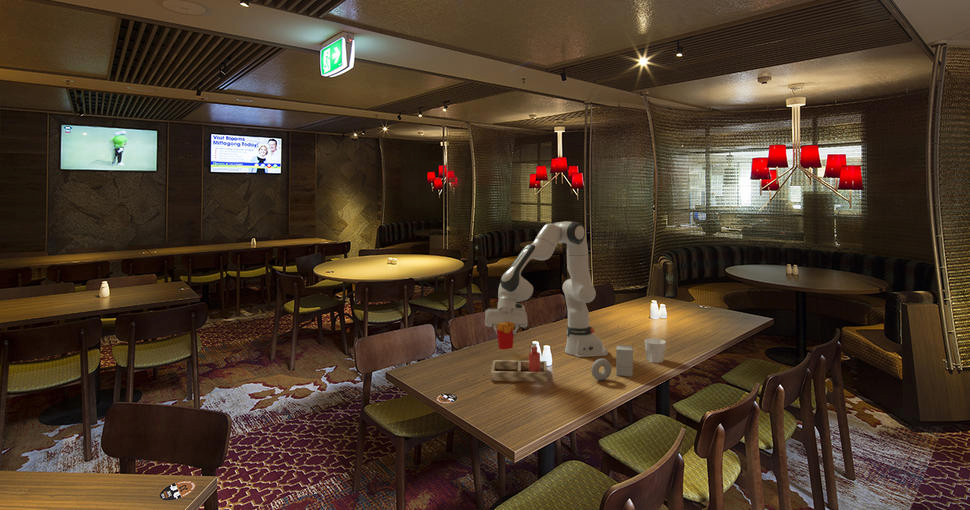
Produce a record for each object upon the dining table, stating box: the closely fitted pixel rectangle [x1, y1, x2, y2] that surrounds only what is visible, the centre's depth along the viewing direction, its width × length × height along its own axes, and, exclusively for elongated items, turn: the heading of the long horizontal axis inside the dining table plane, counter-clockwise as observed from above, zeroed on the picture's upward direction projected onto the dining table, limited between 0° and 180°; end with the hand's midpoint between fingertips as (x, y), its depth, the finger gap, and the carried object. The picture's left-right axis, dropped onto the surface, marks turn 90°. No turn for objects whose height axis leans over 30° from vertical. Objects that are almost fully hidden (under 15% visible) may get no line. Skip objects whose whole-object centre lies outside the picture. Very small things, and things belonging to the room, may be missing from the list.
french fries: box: [496, 322, 515, 350], centre depth 220 cm, size 8×4×12 cm, turn 113°
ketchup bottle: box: [528, 343, 541, 372], centre depth 218 cm, size 5×5×15 cm
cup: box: [644, 337, 666, 364], centre depth 239 cm, size 10×10×10 cm
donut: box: [590, 358, 612, 381], centre depth 213 cm, size 10×4×10 cm, turn 110°
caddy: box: [490, 359, 549, 383], centre depth 221 cm, size 26×16×4 cm, turn 85°
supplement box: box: [615, 344, 634, 378], centre depth 221 cm, size 7×7×13 cm
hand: (505, 334), depth 219 cm, fingers closed on french fries, 6 cm apart
